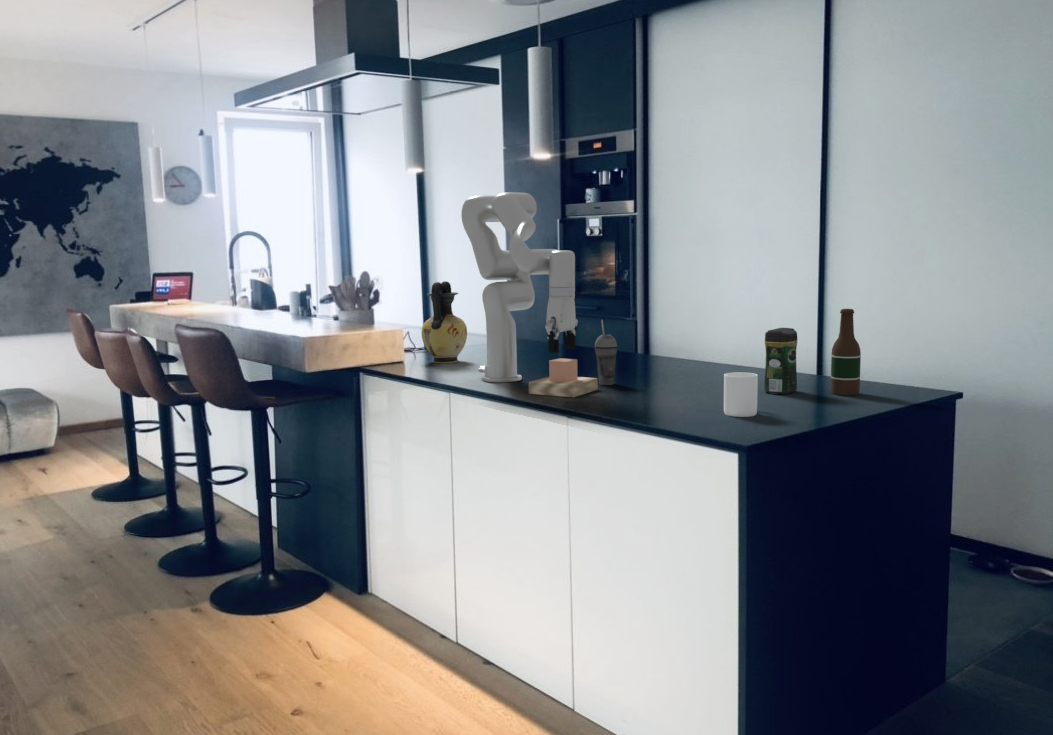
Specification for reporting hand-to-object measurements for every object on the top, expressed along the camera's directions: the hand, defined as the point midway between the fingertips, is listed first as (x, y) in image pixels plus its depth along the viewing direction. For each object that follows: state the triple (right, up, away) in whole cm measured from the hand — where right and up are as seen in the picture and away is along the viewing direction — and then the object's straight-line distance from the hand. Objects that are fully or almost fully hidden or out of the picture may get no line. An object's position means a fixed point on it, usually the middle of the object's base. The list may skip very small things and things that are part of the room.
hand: (561, 350), depth 274 cm
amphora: (-41, -3, +72) cm, 83 cm away
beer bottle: (+80, -13, -12) cm, 82 cm away
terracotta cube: (0, -9, +1) cm, 9 cm away
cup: (+45, -17, -37) cm, 61 cm away
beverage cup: (+14, -10, +14) cm, 22 cm away
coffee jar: (+63, -12, -7) cm, 64 cm away
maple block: (+1, -13, +1) cm, 13 cm away
